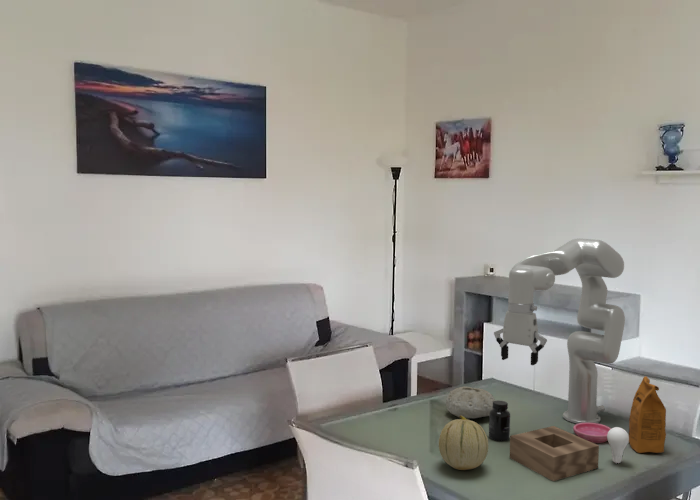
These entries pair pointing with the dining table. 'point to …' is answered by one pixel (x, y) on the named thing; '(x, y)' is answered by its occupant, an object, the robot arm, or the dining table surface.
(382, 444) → the dining table surface
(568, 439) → the socket block
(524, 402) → the dining table surface
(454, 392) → the grey rounded lump
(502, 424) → the supplement bottle
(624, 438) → the lightbulb
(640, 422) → the coffee package
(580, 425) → the saucer
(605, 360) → the robot arm
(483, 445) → the cantaloupe
